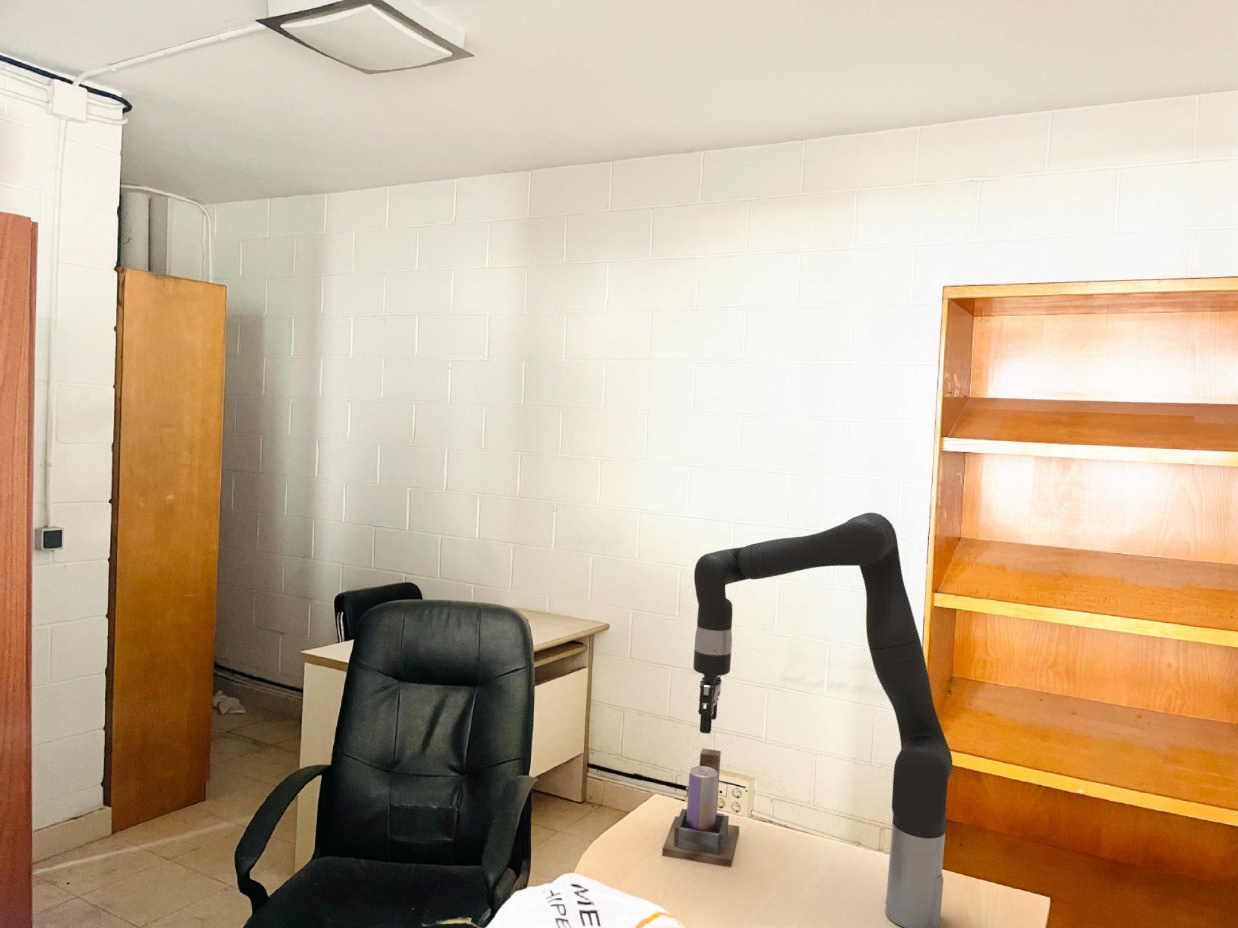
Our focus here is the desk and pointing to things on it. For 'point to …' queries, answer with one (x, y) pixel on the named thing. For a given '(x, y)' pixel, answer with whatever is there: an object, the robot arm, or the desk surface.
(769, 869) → the desk surface
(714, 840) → the post holder
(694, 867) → the desk surface
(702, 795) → the beverage can
